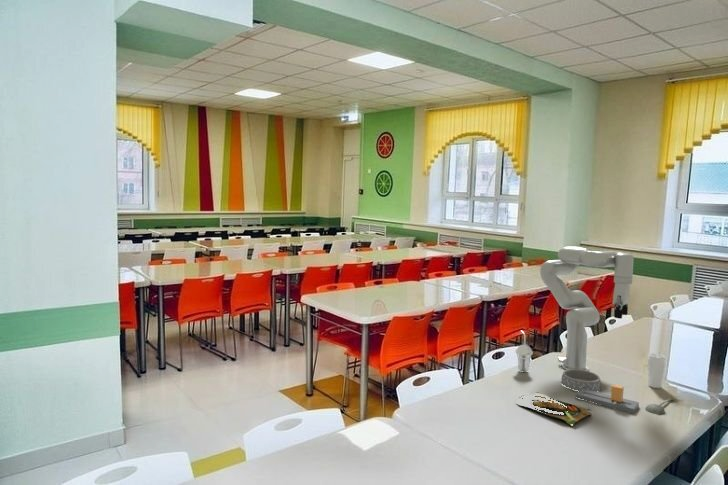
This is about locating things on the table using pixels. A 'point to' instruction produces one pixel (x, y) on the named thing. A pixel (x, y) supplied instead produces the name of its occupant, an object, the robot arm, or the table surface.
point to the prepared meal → (563, 410)
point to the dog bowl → (581, 380)
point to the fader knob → (617, 393)
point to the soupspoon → (657, 407)
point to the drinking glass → (655, 370)
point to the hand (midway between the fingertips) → (620, 316)
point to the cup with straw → (524, 356)
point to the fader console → (607, 400)
